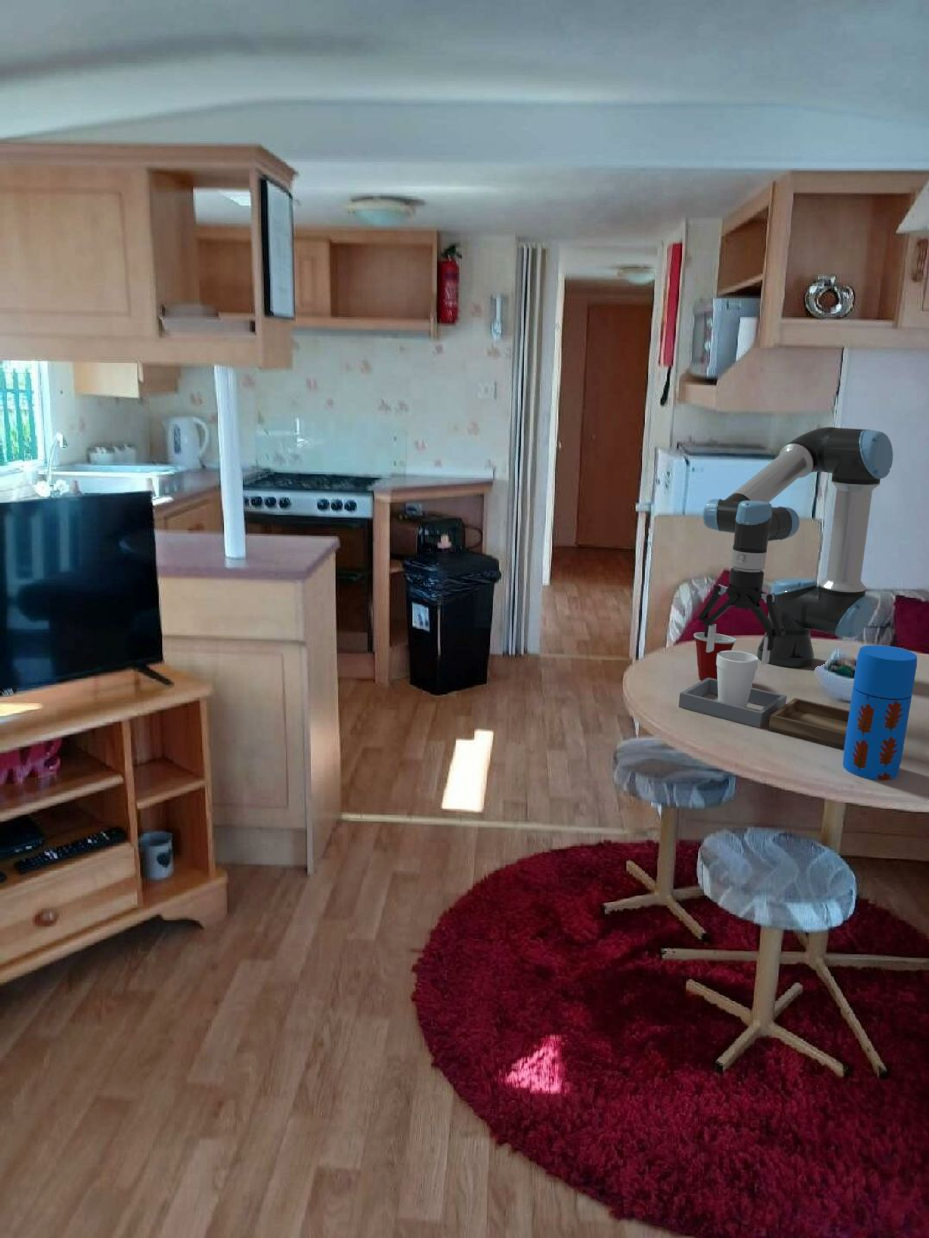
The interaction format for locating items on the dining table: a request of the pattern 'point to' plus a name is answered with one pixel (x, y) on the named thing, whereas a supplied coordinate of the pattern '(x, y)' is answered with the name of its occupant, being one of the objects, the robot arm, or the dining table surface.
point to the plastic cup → (710, 653)
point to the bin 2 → (811, 722)
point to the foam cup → (735, 676)
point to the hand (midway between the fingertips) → (736, 657)
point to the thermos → (879, 711)
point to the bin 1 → (728, 711)
